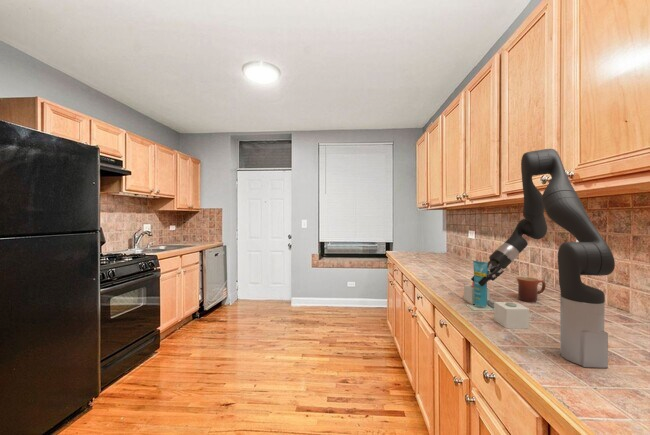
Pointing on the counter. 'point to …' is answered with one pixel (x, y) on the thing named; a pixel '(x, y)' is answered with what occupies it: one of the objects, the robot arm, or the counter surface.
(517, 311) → the block with green button
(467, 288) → the grey block
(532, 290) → the mug
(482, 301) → the tube
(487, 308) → the pad
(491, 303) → the rail
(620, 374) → the counter surface
